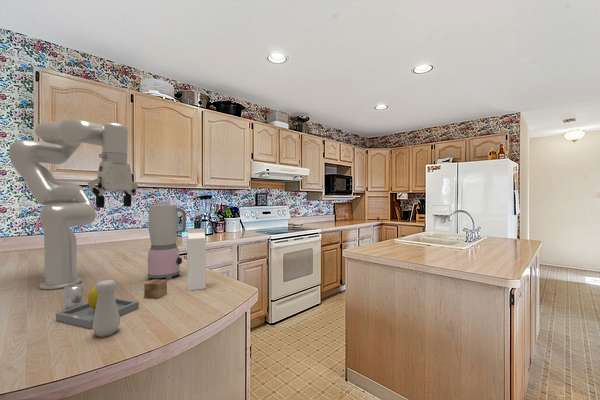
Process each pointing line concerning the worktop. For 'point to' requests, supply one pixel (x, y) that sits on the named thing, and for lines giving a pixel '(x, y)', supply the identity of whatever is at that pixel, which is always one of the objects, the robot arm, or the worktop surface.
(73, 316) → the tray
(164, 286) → the walnut block
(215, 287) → the worktop surface
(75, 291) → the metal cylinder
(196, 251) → the milk
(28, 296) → the worktop surface
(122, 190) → the robot arm
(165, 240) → the blender
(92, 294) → the lemon
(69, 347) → the worktop surface
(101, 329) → the salt shaker
